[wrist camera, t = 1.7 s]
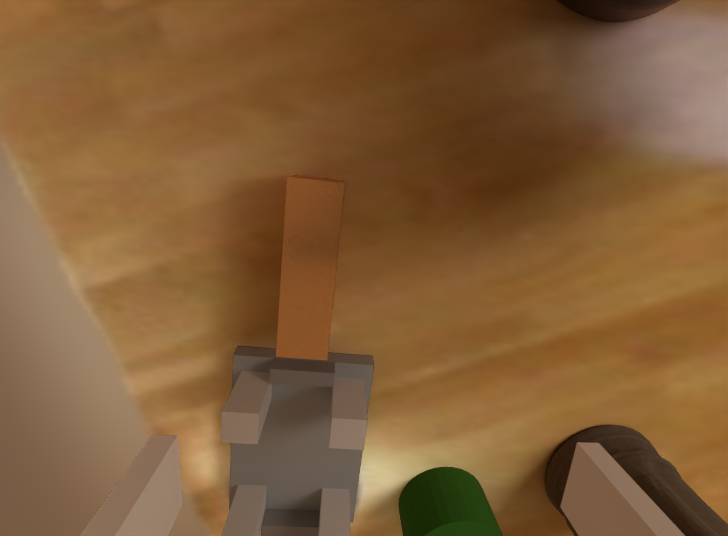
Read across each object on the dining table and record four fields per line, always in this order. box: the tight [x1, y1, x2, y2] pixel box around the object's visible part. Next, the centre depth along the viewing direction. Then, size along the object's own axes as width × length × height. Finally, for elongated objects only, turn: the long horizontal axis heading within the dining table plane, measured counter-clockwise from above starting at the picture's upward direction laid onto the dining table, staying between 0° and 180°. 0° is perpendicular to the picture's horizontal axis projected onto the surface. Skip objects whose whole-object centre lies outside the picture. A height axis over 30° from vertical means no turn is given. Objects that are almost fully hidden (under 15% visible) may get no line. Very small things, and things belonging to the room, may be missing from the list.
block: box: [276, 175, 345, 361], centre depth 26 cm, size 12×4×5 cm, turn 173°
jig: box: [221, 346, 374, 536], centre depth 29 cm, size 16×11×6 cm
